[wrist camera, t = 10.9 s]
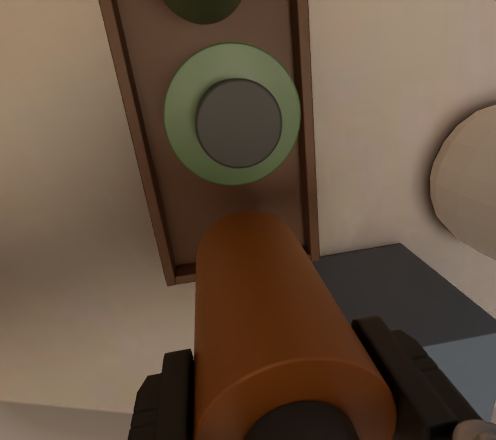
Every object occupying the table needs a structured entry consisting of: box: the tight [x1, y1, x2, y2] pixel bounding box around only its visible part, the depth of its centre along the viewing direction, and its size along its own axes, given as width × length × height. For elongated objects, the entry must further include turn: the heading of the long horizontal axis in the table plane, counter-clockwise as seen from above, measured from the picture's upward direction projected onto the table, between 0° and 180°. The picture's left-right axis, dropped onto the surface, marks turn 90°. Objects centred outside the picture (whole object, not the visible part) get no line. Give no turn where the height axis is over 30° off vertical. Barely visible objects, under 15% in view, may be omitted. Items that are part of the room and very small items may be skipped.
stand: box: [312, 244, 496, 422], centre depth 23 cm, size 8×8×10 cm
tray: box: [99, 0, 320, 286], centre depth 20 cm, size 10×21×2 cm, turn 7°
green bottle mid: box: [163, 42, 301, 186], centre depth 15 cm, size 5×5×11 cm
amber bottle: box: [192, 210, 397, 440], centre depth 11 cm, size 5×5×11 cm
